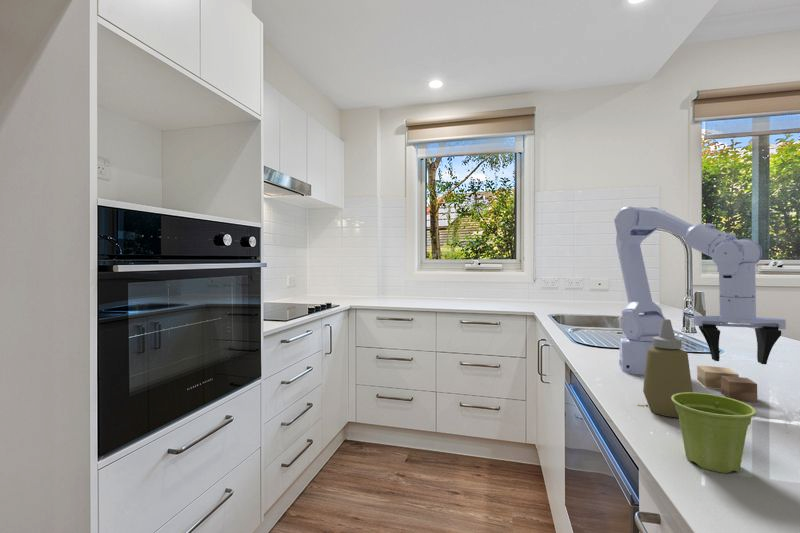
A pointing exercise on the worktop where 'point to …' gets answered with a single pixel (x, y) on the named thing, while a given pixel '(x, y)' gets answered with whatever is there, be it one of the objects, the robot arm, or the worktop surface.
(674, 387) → the squeeze bottle
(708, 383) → the oak block
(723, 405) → the plant pot
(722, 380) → the walnut block
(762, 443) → the worktop surface
